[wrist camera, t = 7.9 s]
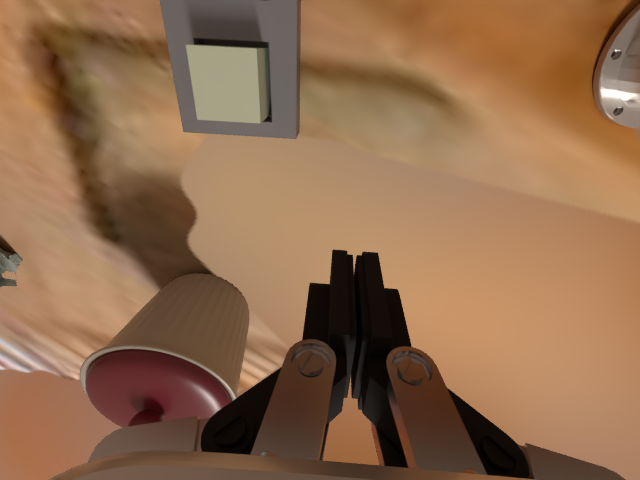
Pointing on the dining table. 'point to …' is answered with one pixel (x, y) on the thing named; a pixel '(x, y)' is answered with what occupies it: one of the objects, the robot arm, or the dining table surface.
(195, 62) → the button sage
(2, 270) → the rose bouquet
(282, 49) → the console
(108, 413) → the canister
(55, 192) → the dining table surface
